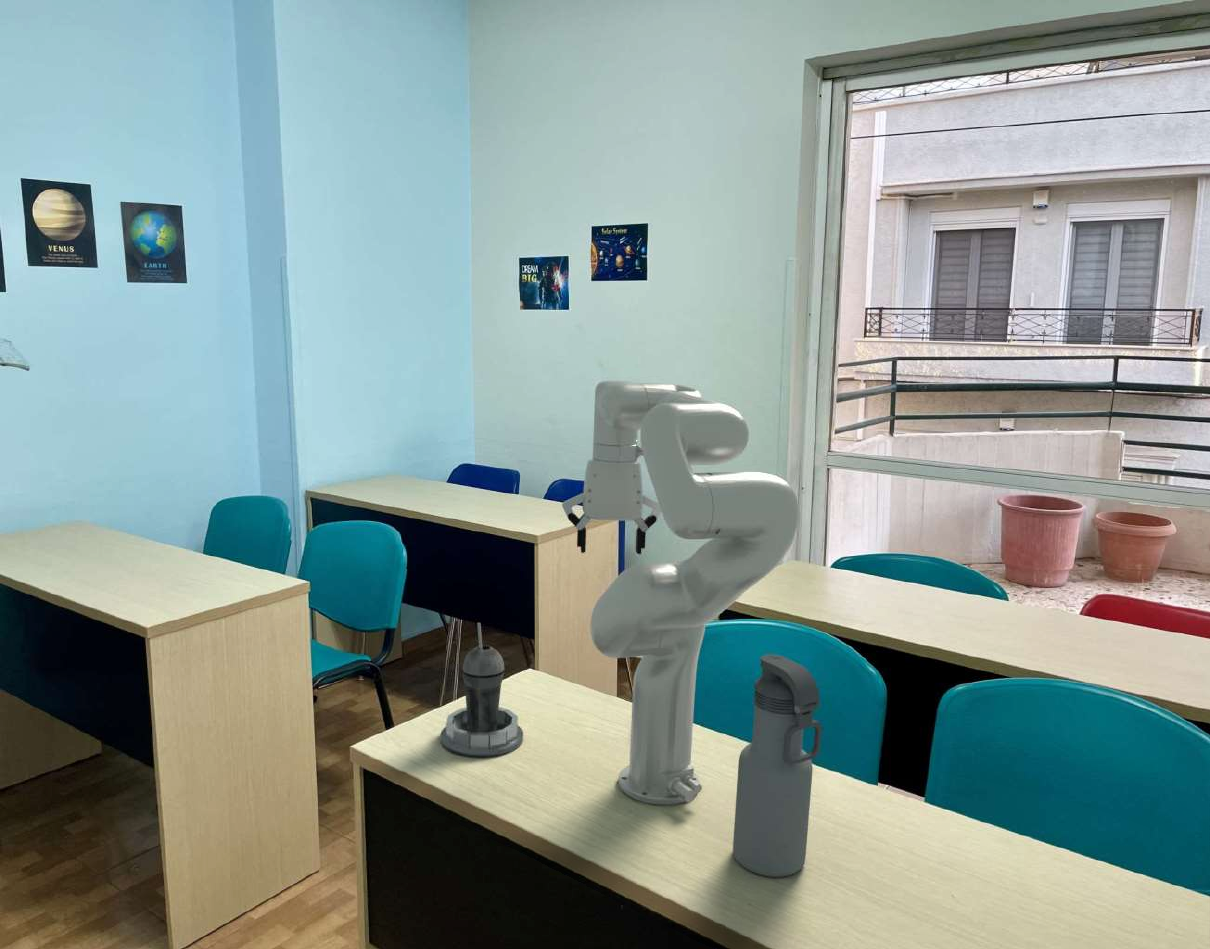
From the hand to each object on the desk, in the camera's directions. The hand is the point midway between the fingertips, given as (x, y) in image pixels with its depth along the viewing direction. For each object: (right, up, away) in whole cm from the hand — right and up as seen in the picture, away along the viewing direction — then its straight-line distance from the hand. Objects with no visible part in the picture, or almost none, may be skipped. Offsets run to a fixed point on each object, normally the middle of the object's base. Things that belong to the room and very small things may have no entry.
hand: (610, 551), depth 161 cm
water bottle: (+21, -39, -34) cm, 56 cm away
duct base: (-22, -32, -1) cm, 39 cm away
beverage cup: (-22, -31, -2) cm, 38 cm away
